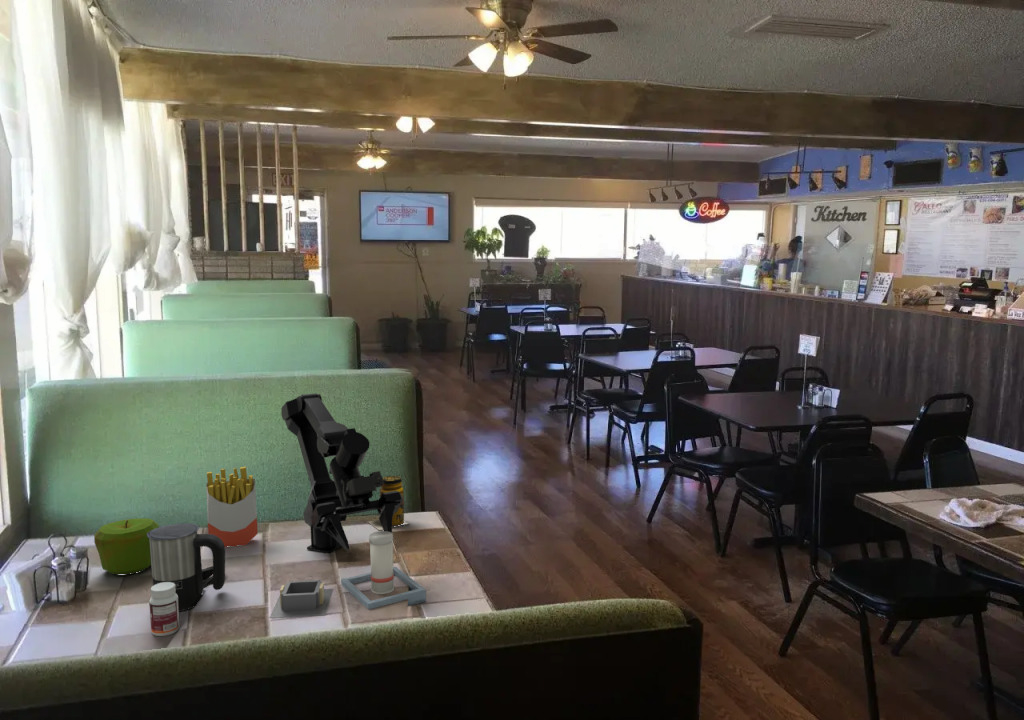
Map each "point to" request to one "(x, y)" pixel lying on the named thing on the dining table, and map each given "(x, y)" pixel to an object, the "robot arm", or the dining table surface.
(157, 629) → the pill bottle
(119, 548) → the apple
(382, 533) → the cylinder
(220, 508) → the french fries container
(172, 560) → the milk frother
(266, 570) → the dining table surface
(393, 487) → the condiment
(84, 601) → the dining table surface
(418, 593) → the tray
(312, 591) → the fuse holder
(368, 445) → the robot arm
